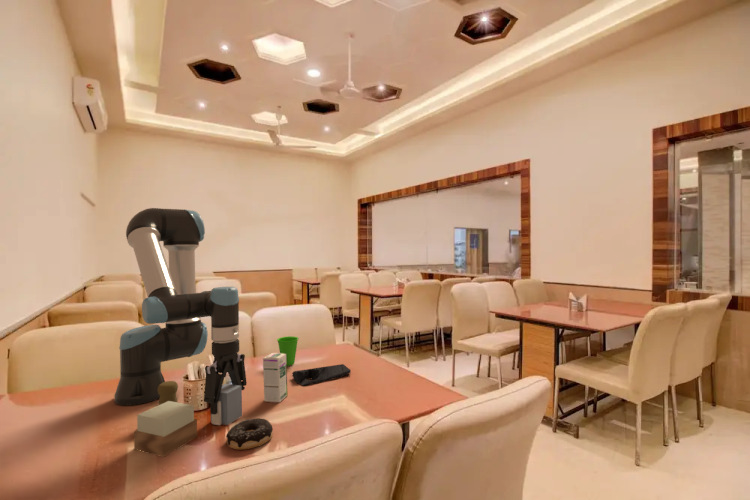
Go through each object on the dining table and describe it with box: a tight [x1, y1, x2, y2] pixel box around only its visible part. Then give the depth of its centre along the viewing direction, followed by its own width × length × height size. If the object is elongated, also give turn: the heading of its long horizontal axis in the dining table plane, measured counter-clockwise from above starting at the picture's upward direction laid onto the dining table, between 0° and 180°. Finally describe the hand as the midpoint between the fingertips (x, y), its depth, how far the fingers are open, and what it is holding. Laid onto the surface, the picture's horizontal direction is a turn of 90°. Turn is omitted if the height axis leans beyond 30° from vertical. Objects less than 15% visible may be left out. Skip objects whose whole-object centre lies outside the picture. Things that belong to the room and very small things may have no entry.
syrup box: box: [262, 352, 288, 403], centre depth 123 cm, size 6×6×14 cm
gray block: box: [210, 383, 243, 426], centre depth 109 cm, size 6×6×9 cm
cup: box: [276, 336, 300, 367], centre depth 160 cm, size 9×9×11 cm
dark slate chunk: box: [291, 363, 352, 387], centre depth 145 cm, size 15×22×5 cm
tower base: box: [133, 418, 198, 457], centre depth 96 cm, size 10×10×5 cm
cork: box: [158, 380, 179, 405], centre depth 109 cm, size 6×6×11 cm
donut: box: [225, 417, 274, 451], centre depth 96 cm, size 11×12×4 cm
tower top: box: [136, 401, 195, 437], centre depth 95 cm, size 9×9×4 cm
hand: (226, 417), depth 109 cm, fingers open, 7 cm apart
